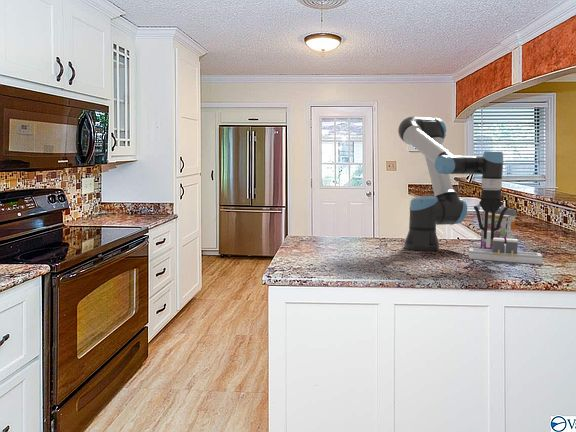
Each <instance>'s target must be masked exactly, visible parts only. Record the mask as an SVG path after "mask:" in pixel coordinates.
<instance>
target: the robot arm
mask: <svg viewBox="0 0 576 432" xmlns="http://www.w3.org/2000/svg"><path fill="white" fill-rule="evenodd" d="M397 132H398V136H399V138H400V139H401V140H402V141H403V143H405V144H406V145H411V146H412V147H413V148H414V149H416V150H417V151H418V152H420V153H421V154H422V155H423V156H424V157H425V161H426V165H427V166H426V167H427V170H428V174H429V178H430V181H431V187H432V189H433V194H434V195H423V196H416V197H413V198H412V199H411V200H410V204H409V222H408V223H409V225H408V227H409V228H408V233H407V235H406V237H405V240H404V245H403V246H404V248H405V249H407V250H411V251H412V250H413V251H419V252H423V251H424V252H433V251H438V250H440V243H439V240H438V235H437V225H439V226H441V225H442V226H443V225H450V226H451V225H459V224H461V223H463V222H464V220H465V219H466V216H467V215H468V214H467V213H468V204H467V202H466V200H464V199H462V198H460V197H459V193H458V192H457V190H456V191H455V190H454V187H453V185H452V184H453V183H452V180H451V179H452V178H451V176H450V175H481V176H482V177H481V191H480V201H479V203H478V204H476V205H473V209H474V210H475V212H476V218H477V222H478V227H479V230H481V231H482V230H483V231H484V239H486V247H488V248H490V240H491V239H493V238H494V231H496V230H499V228H500V225H501V222H502V219H503V215H504V213H505V212H506V210H507V209H508V207H507V206H505V205H503V202H502V190H501V189H503V188H502V185H503V171H504V170H503V167H504V152H503V151H501V150H485V151H484V152H483V155H478V156H477V155H455V154H453V153H451V152H450V151H449V150H448V149H446V148H445V147H444V146H443V145H442V144H443V143H444V140H445V139H446V136H447V134H446V133H447V127H446V123H445V122H444V121H443V120H442V119H441V118H438V117H433V116H430V117H429V116H428V117H425V116H423V117H422V116H409V117H406V118H404V119H403V120H402V121H401V122H400V123H399V126H398V130H397ZM481 209H482V210H483V212H484V214H485V220H484V227H483V226H482V218H481V214H480V210H481ZM498 209H501V213H500V216H499V219H498V222H497V225H496V227H494V224H495V212H496V211H497V210H498ZM490 212H492V215H491V231H487V227H488V213H490Z"/></svg>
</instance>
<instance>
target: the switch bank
mask: <svg viewBox="0 0 576 432" xmlns="http://www.w3.org/2000/svg"><path fill="white" fill-rule="evenodd" d="M468 259H469V260H470V259H471V260H483V261H495V262H507V263H508V262H509V263H519V264H520V263H521V264H533V265H534V264H535V265H543V262H544V258H543V254H541V252H532V251H531V252H530V251H518V250H517V254H513V251H511V253H506V244H504V253H500V250H498V252H492V250H490V249H480V248H475V247H474V248H473V247H469V249H468Z"/></svg>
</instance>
